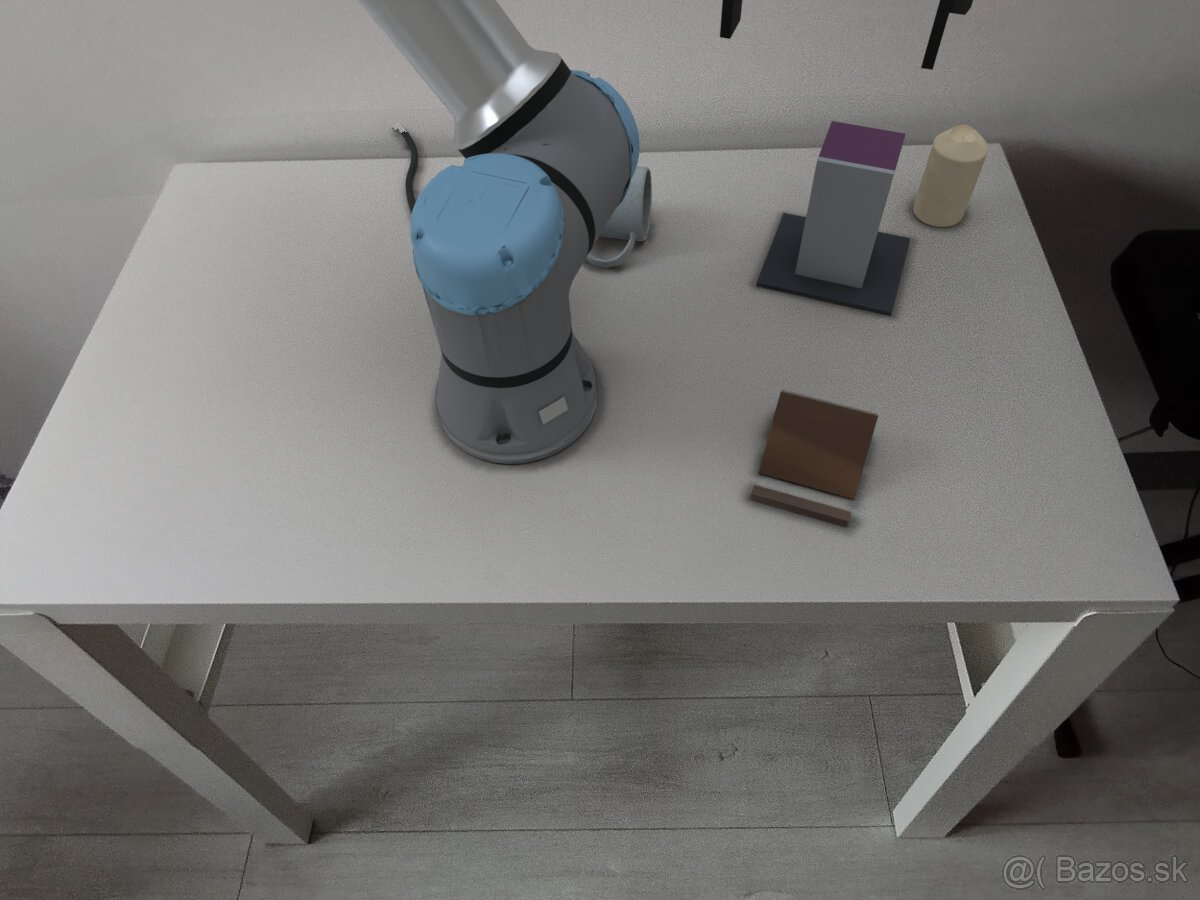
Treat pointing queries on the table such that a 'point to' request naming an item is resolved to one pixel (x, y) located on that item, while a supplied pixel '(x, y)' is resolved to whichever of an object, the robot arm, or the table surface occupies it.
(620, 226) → the ceramic mug
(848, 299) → the mat
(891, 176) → the grey box
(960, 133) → the candle
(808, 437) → the phone stand
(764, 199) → the table surface
